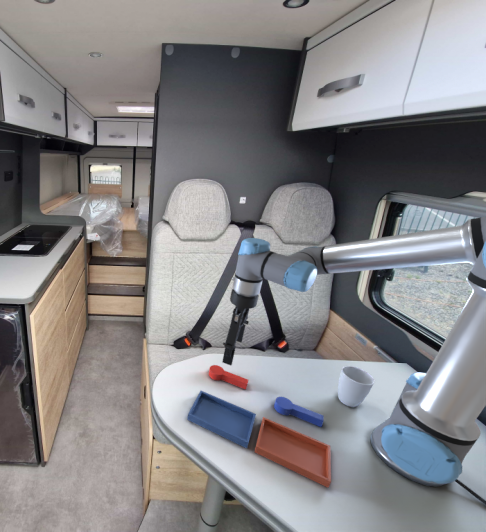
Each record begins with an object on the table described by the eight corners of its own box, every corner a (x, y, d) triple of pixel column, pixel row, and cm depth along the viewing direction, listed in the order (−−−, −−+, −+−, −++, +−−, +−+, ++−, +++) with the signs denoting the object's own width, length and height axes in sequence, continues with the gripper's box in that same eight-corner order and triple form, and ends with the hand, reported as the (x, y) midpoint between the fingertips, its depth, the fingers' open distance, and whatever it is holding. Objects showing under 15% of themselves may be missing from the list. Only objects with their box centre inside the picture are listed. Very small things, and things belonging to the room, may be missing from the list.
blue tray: (254, 419, 87) (256, 413, 86) (246, 448, 78) (248, 442, 77) (199, 395, 94) (200, 390, 94) (187, 419, 86) (187, 414, 85)
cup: (368, 413, 91) (380, 387, 87) (338, 408, 92) (349, 381, 88) (356, 393, 98) (366, 368, 94) (328, 388, 100) (337, 363, 96)
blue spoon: (321, 418, 88) (323, 412, 87) (321, 430, 84) (323, 424, 83) (275, 400, 94) (276, 394, 93) (272, 410, 90) (274, 404, 89)
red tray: (328, 451, 79) (330, 445, 78) (328, 488, 70) (331, 482, 69) (261, 422, 86) (262, 416, 85) (254, 452, 77) (255, 446, 77)
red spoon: (248, 383, 100) (249, 377, 99) (244, 392, 96) (246, 386, 96) (211, 368, 106) (212, 363, 105) (206, 376, 102) (207, 371, 101)
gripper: (241, 274, 101) (230, 329, 109) (220, 304, 81) (209, 369, 88) (265, 280, 97) (252, 336, 105) (250, 313, 77) (235, 379, 85)
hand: (232, 351), depth 97 cm, fingers open, 13 cm apart
